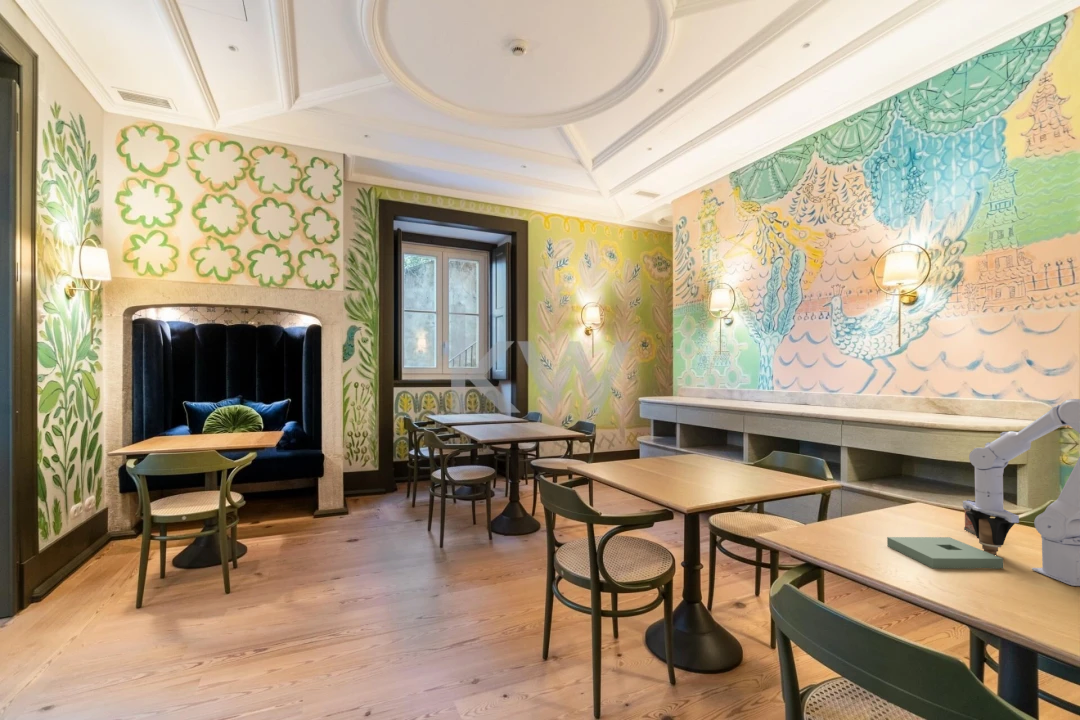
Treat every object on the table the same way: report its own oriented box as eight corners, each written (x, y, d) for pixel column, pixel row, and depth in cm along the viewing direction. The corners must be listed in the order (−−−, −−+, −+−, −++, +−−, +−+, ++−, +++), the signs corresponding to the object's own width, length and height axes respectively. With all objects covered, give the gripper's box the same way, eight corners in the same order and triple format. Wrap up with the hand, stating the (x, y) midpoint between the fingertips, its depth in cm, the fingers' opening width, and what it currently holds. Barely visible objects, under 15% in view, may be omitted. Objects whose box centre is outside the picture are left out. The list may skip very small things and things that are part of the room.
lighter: (994, 538, 146) (994, 504, 147) (983, 538, 147) (982, 504, 147) (971, 529, 154) (971, 497, 155) (960, 529, 155) (960, 497, 155)
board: (1003, 568, 123) (1003, 558, 123) (932, 568, 123) (932, 558, 123) (949, 546, 139) (949, 537, 139) (887, 545, 139) (887, 537, 139)
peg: (1006, 557, 131) (1005, 523, 131) (989, 557, 131) (989, 523, 131) (990, 551, 136) (990, 518, 136) (974, 551, 136) (974, 518, 136)
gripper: (952, 485, 141) (952, 532, 141) (999, 498, 127) (1000, 551, 126) (976, 485, 141) (977, 532, 141) (1026, 498, 127) (1027, 551, 126)
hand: (989, 541), depth 134 cm, fingers closed on peg, 4 cm apart
